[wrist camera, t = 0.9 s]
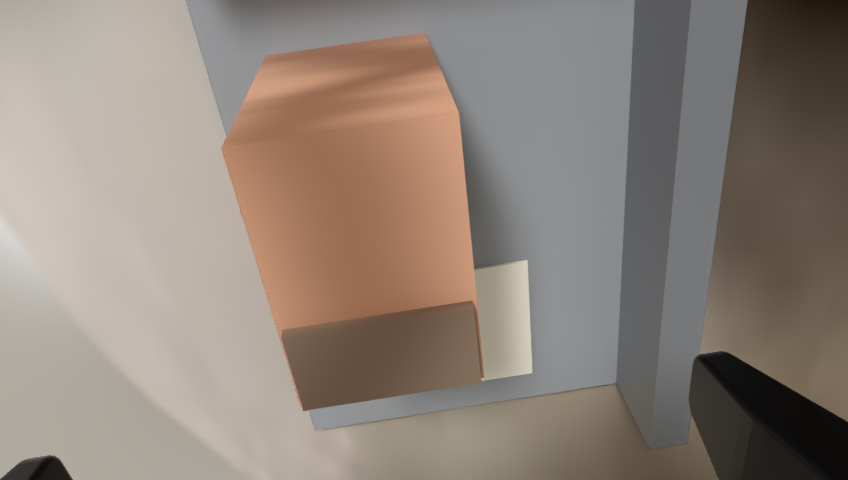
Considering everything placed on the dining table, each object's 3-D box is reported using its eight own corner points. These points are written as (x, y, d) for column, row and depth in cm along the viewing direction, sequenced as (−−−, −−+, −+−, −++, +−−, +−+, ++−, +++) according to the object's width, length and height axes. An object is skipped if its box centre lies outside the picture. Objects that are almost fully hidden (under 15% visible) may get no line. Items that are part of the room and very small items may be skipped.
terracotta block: (425, 32, 16) (461, 117, 10) (448, 237, 19) (486, 385, 13) (265, 55, 16) (218, 154, 10) (315, 258, 19) (299, 415, 13)
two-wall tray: (693, -253, 14) (786, -285, 11) (644, 370, 23) (687, 443, 20) (138, -175, 13) (78, -186, 11) (315, 422, 23) (309, 503, 20)
